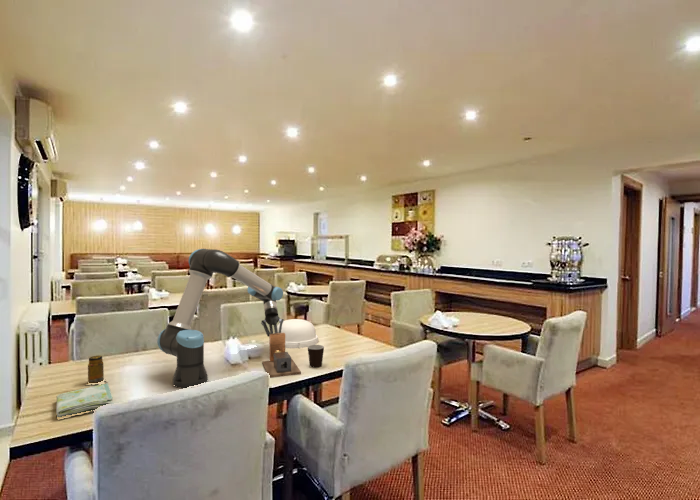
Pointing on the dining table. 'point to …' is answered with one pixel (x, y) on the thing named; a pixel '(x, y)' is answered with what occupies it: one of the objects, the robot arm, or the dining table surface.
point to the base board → (272, 372)
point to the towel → (83, 400)
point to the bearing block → (282, 358)
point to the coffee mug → (315, 355)
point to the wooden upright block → (276, 344)
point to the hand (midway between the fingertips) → (275, 346)
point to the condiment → (95, 369)
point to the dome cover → (298, 333)
